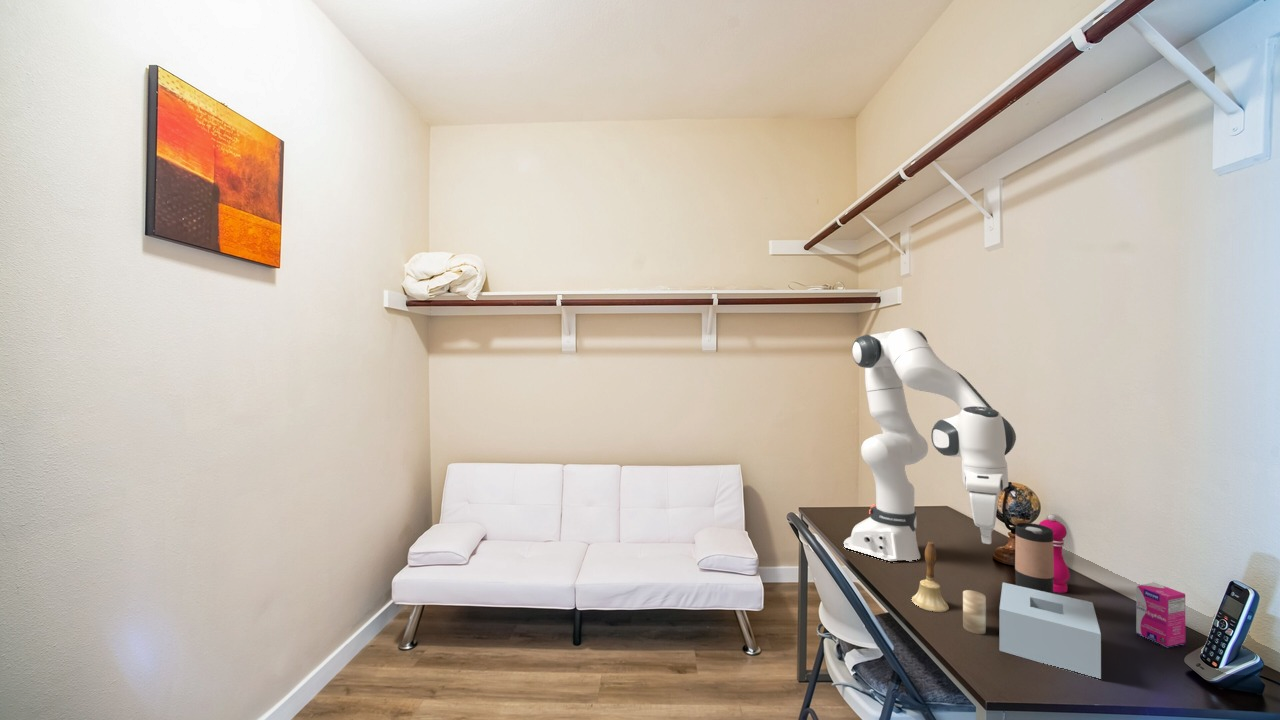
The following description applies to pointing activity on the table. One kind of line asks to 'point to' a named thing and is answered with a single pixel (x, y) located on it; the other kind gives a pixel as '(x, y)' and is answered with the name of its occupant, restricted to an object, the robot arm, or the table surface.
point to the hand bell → (930, 586)
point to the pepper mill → (1058, 554)
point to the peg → (974, 612)
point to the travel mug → (1034, 557)
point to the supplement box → (1160, 614)
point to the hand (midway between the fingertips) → (987, 536)
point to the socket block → (1050, 629)
